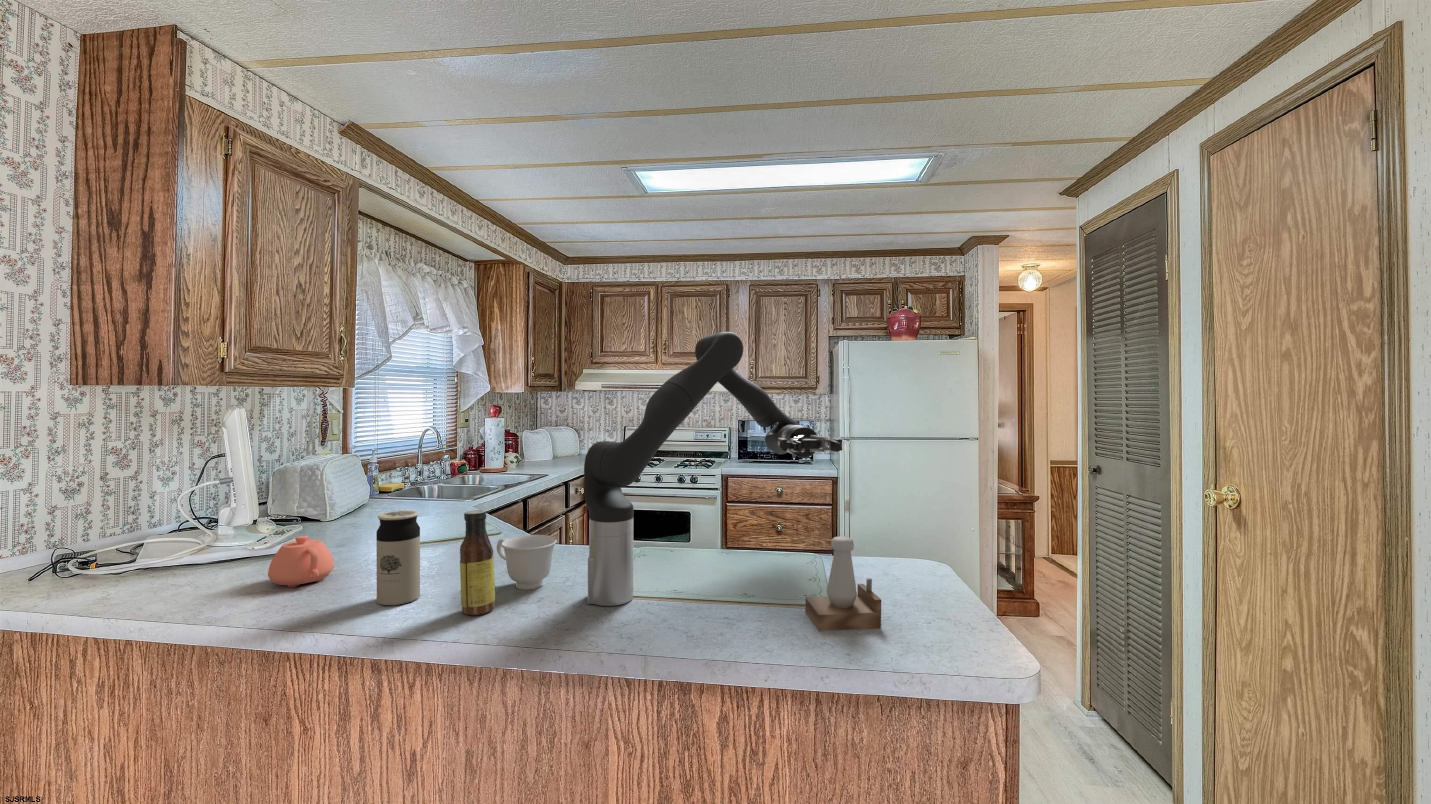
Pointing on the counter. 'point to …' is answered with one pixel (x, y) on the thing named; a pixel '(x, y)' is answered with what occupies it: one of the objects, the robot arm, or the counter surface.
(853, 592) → the salt shaker
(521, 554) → the teacup
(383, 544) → the travel mug
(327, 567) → the sugar bowl
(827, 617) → the wooden stand
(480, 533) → the sauce bottle
